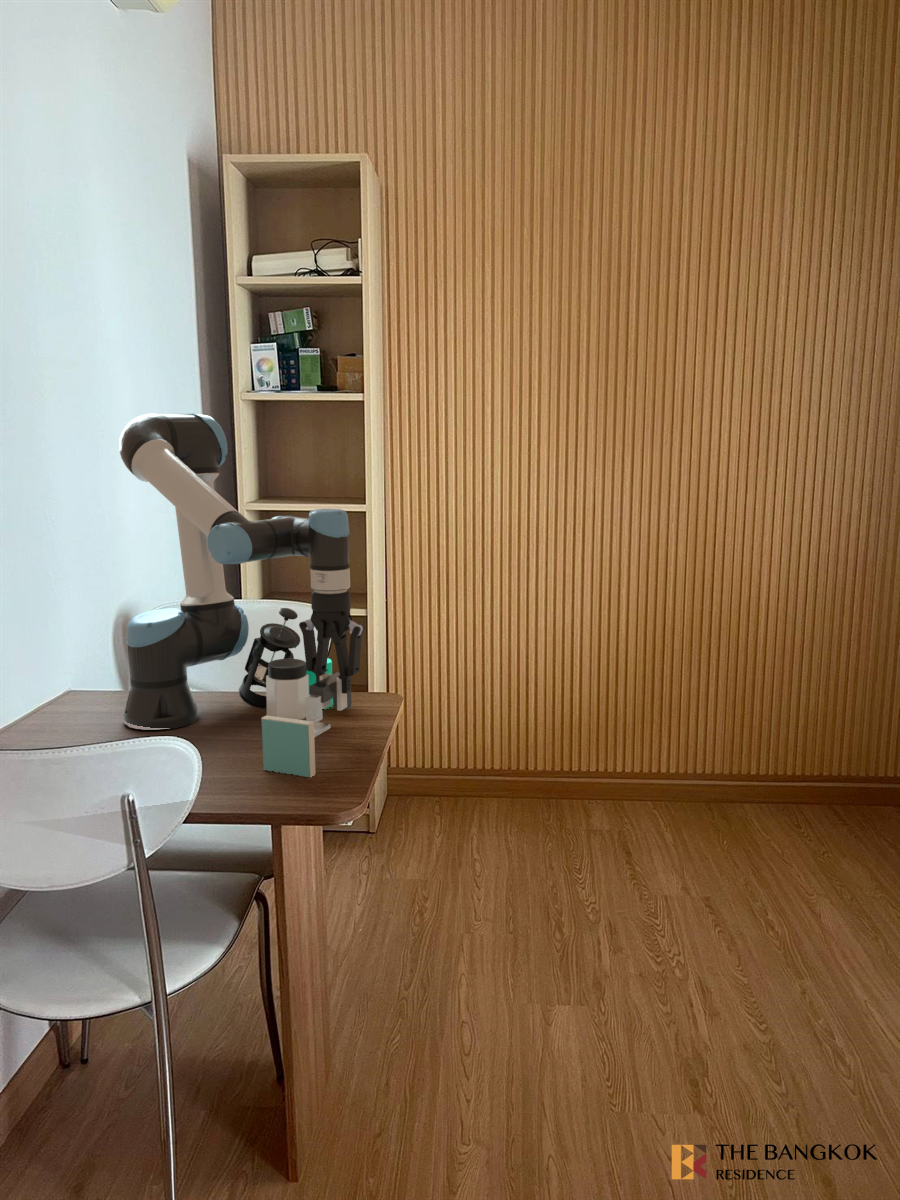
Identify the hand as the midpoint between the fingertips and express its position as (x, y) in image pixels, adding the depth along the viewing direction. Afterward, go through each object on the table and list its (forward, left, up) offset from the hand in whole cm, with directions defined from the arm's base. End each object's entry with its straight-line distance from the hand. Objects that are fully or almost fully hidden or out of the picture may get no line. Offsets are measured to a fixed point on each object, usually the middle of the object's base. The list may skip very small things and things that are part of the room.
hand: (333, 707), depth 189 cm
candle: (-16, +21, -8) cm, 28 cm away
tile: (0, -17, -8) cm, 18 cm away
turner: (0, -6, -1) cm, 6 cm away
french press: (-29, +17, -5) cm, 34 cm away
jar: (-18, +11, -8) cm, 23 cm away
